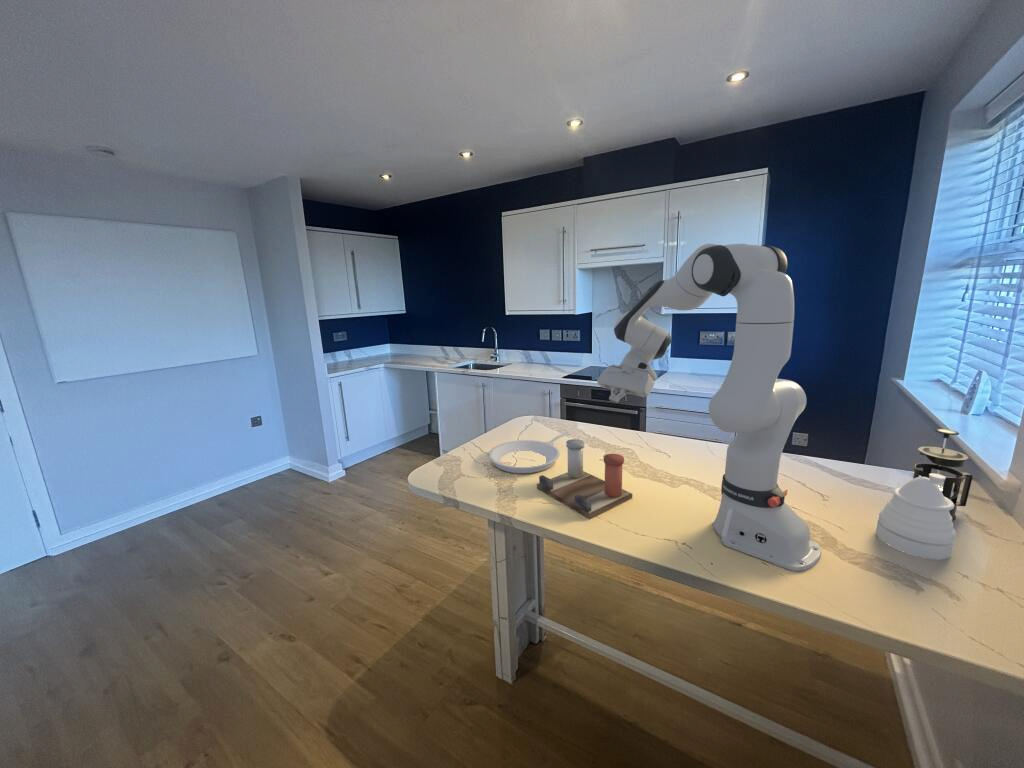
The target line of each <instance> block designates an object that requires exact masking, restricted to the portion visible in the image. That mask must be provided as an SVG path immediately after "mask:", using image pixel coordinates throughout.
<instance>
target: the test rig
mask: <svg viewBox="0 0 1024 768" xmlns="http://www.w3.org/2000/svg"><path fill="white" fill-rule="evenodd" d="M538 480H539V482H538V483H536V489H537V490H539V491H540V492H543V493H544V494H546V495H547V496H549V497H551V498H552V499H554V500H556V501H558V502H560V503H561V504H563V505H564V506H567V507H568V508H569V509H571V510H573V511H575V512H576V513H578V514H580V515H581V516H582V517H583V516H584V517H585V518H587V519H589V520H591V519H593V518H595V517H597V516H600V515H602V514H603V513H605V512H608V511H610V510H611V509H614V508H616V507H618V506H620V505H622V504H624V503H626V502H627V501H630V500H632V499H633V493H632V492H629V491H628V490H626V489H624V488H622V494H621V495H620V496H617V497H612V496H608V495H606V494H605V479H601V478H599V477H596V476H595V475H593V474H591V473H589V472H586V471H584V470H583V476H582V477H579V478H573V477H570V476H568V471H567V472H565V473H562V474H559V475H557V476H554V477H552V478H549V477H547V476H545V475H543V474H542V475H539V478H538Z"/></svg>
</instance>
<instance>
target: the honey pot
mask: <svg viewBox="0 0 1024 768" xmlns="http://www.w3.org/2000/svg"><path fill="white" fill-rule="evenodd" d="M929 478H930V479H929ZM929 478H927V477H921V476H919V477H917V478H914V479H913V478H912V479H910V480H908V481H907V482H905V484H903V485H902V486H901V487H897V488H894V489H893V491H892V492H893V496H892V497H891V498H890V499H889V500H888V501H886V502H887V503H886V504H885V505H884V507H883V508H882V509H881V510H880V512H879V513H878V520H877V524H876V529H875V535H876V534H877V535H876V536H877V538H878V539H879V538H880V539H881V541H882V542H883V541H884V542H885V543H884V542H883V543H884V544H886V543H887V544H889V545H891V546H892V547H891V546H890V547H891V548H893V547H895V548H897V549H899V550H901V551H900V552H902V551H904V552H906V553H905V554H907V553H910V554H912V555H911V556H913V555H916V556H915V557H917V556H920V557H919V558H921V557H925V558H924V559H927V558H929V559H928V560H946V559H949V558H950V557H951V556H952V552H953V548H954V544H955V541H956V535H957V533H956V530H955V528H954V522H953V521H952V516H951V515H950V512H949V511H950V510H952V509H954V506H955V505H954V503H953V502H952V501H951V500H949V499H948V498H946V497H944V496H943V494H942V492H941V490H940V489H939V487H938V486H937V485H940V484H944V481H945V479H946V476H945V475H943V474H940V473H939V474H937V473H933V472H931V473H930V474H929ZM880 539H879V540H880ZM887 544H886V545H887ZM889 545H888V546H889ZM895 548H894V549H895ZM897 549H896V550H897ZM899 550H898V551H899ZM904 552H903V553H904ZM910 554H909V555H910Z"/></svg>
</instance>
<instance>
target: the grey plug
mask: <svg viewBox="0 0 1024 768" xmlns="http://www.w3.org/2000/svg"><path fill="white" fill-rule="evenodd" d="M565 446H566V448H567V472H568V476H570V477H573V478H579V477H582V476H583V471H584V448H585V441H583V440H582V439H579V438H574V439H568V440H567V441H566V444H565Z"/></svg>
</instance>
